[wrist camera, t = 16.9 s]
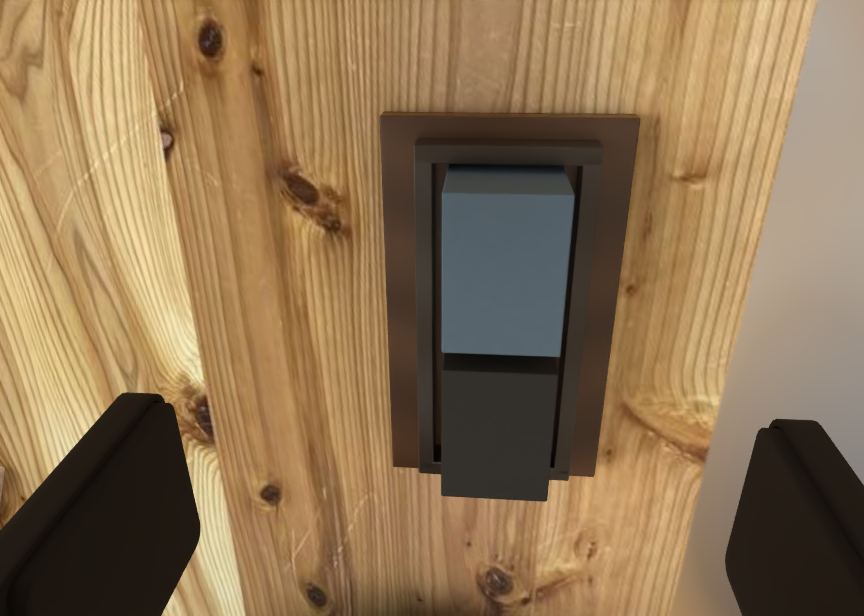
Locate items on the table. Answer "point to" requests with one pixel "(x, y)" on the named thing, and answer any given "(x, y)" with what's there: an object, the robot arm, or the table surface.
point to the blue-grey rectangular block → (505, 258)
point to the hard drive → (1, 480)
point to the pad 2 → (497, 425)
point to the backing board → (422, 262)
